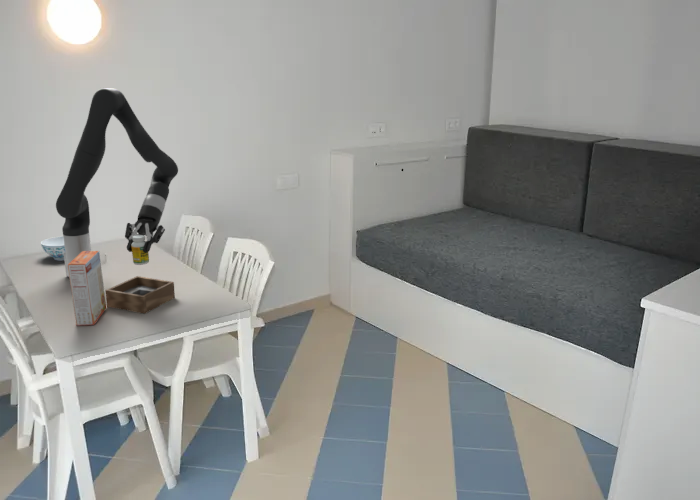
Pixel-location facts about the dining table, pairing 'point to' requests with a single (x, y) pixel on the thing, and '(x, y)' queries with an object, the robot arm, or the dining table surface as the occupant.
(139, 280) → the bore box
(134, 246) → the supplement bottle
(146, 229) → the robot arm
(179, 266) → the dining table surface
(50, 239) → the chinaware
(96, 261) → the cracker box
